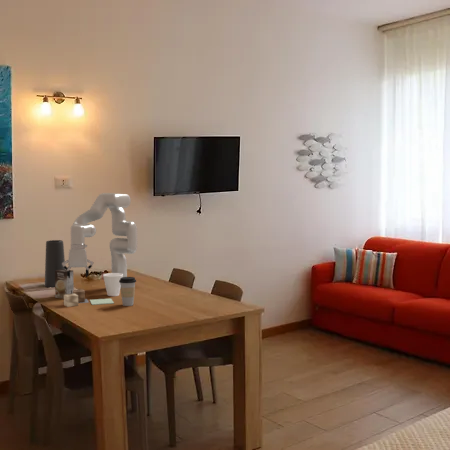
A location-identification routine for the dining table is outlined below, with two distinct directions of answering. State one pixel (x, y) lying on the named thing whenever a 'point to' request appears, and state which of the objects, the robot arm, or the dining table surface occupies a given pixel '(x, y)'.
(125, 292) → the coffee cup
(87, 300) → the tile
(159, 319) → the dining table surface
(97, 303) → the mat
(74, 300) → the maple block
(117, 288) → the cup
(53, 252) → the vase
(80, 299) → the walnut block
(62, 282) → the coffee box
